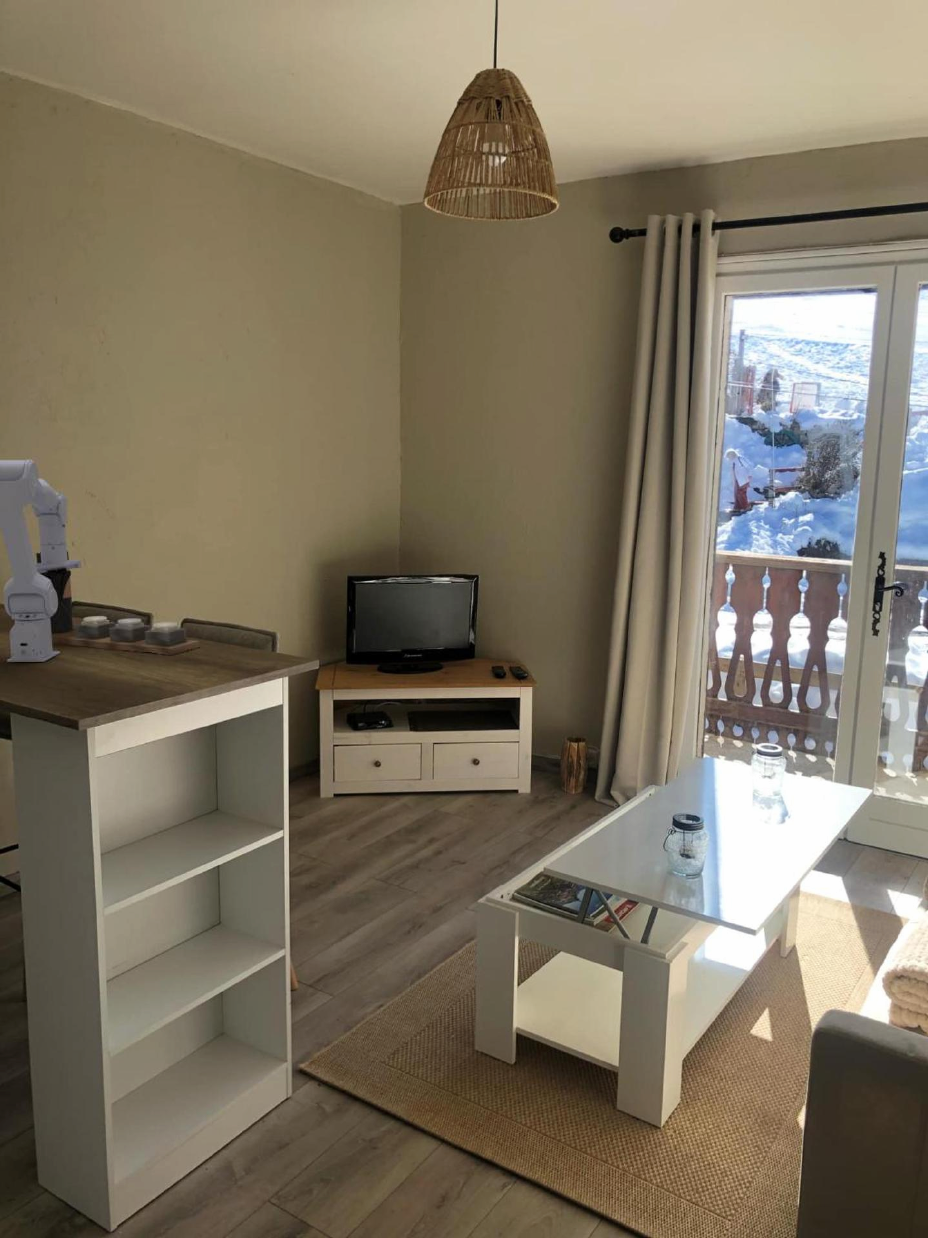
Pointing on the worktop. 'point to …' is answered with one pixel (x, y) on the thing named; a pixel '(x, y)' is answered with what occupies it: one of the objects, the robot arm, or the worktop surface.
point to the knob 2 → (129, 623)
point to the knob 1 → (95, 621)
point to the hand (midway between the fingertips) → (57, 601)
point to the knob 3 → (165, 627)
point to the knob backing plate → (131, 639)
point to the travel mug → (62, 607)
